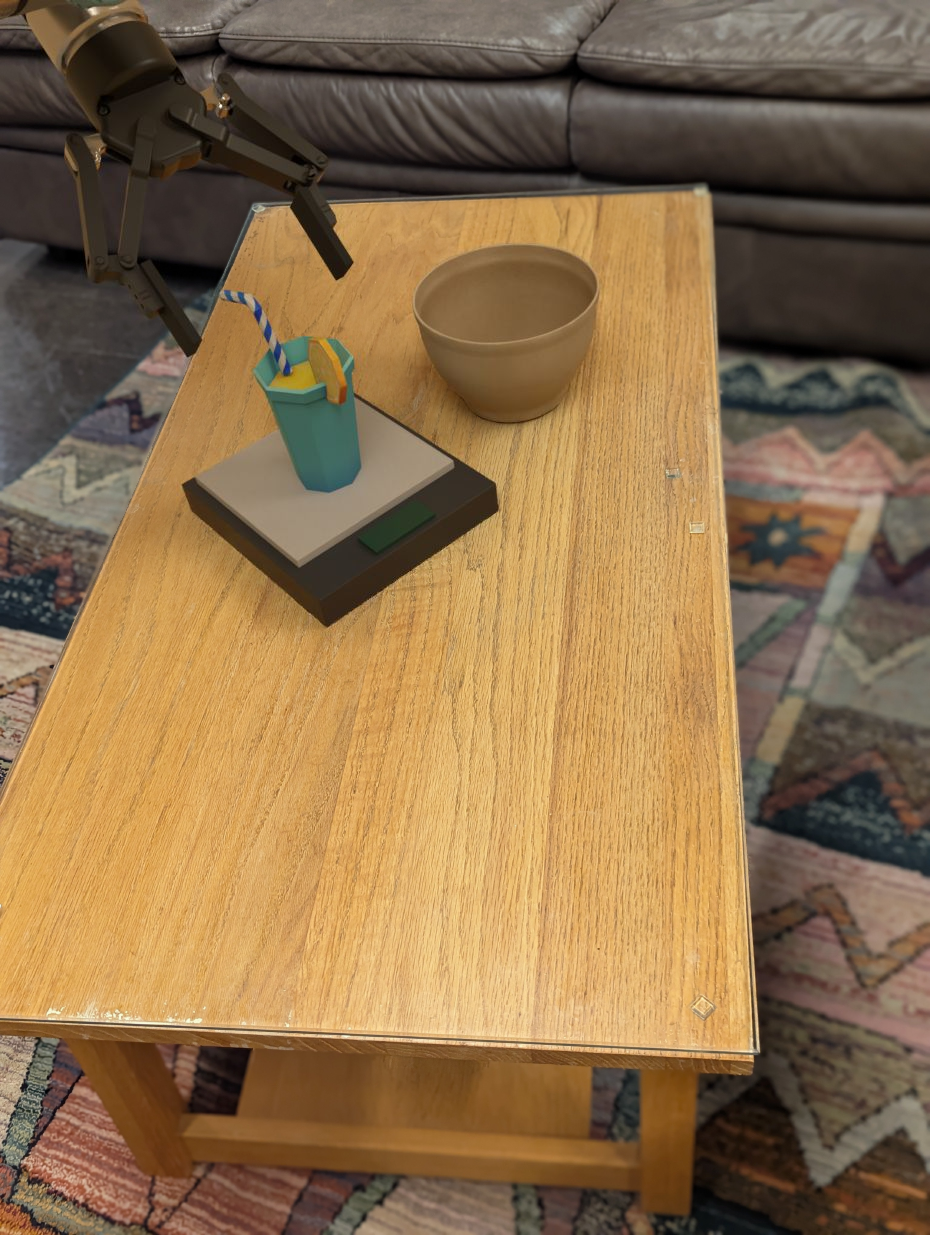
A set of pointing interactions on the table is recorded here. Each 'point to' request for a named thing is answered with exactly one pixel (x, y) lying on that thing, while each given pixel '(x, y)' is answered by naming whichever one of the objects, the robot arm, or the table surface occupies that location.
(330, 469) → the cup
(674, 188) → the table surface
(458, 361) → the planter bowl
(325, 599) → the scale
